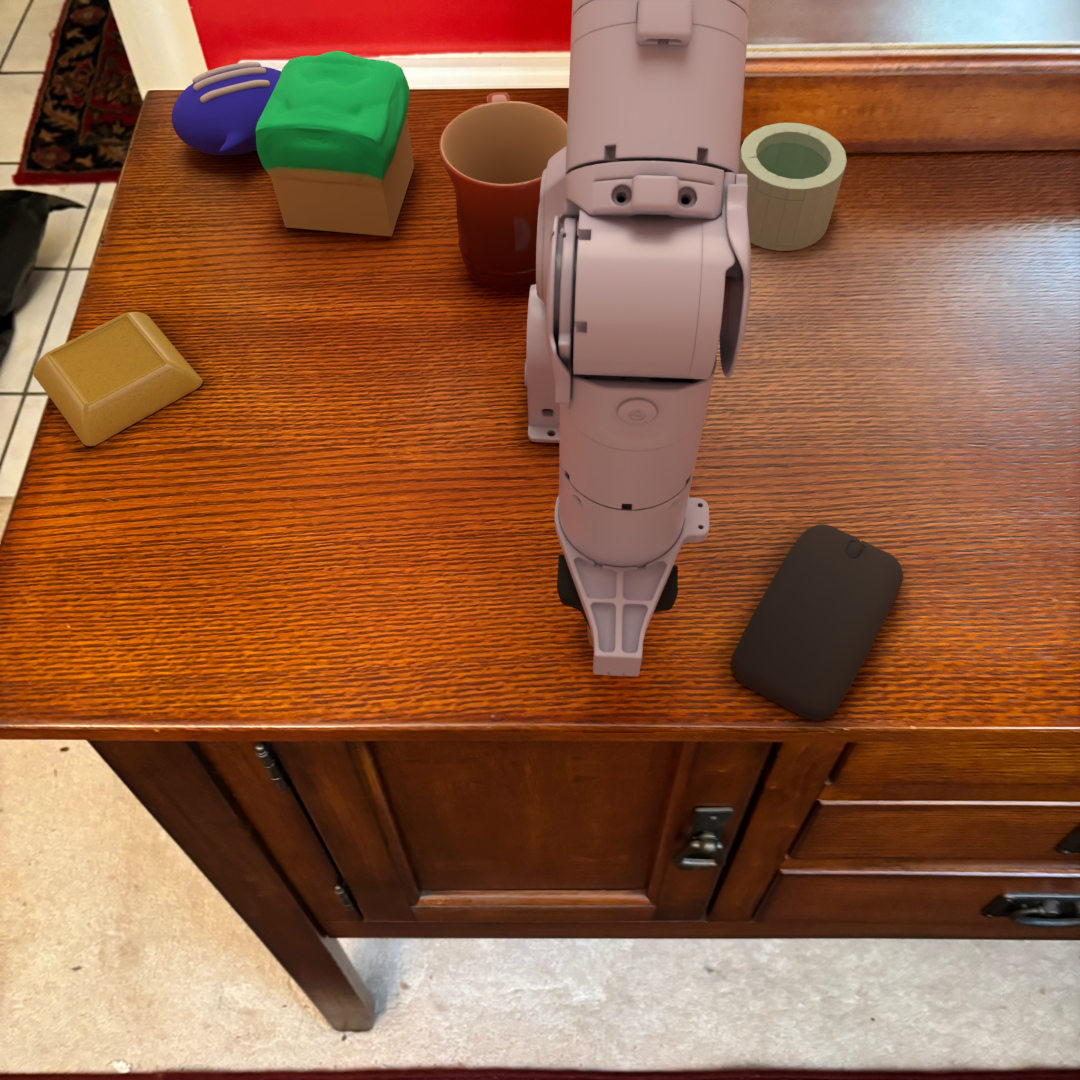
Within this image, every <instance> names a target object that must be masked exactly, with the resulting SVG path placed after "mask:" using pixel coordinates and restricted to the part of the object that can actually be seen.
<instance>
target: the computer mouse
mask: <svg viewBox="0 0 1080 1080" xmlns="http://www.w3.org/2000/svg"><path fill="white" fill-rule="evenodd" d="M903 580H904V572H903V568H902V565H901V563H900V562H899V560H898V559H897V558H896V557H895V556H894V555H893V554H891V553H889V552H887V551H885V550H884V549H880V548H879V547H877V546H874V545H873V544H871V543H868V542H867V541H864V540H860V538H858V537H856V536H854V535H851V534H849V533H847V532H845V531H843V530H841V529H839V528H837V527H835V526H832V525H828V524H817V525H813V526H811V527H808V528H807V529H806V530H805V531H803V532H802V533H801V534H800V535H799V537H798V538H797V539H796V541H795V542H794V543H793V545H792V546H791V548H790V550H789V551H788V553H786V556H785V557H784V558H783V560H782V562H781V563H780V566H779V567H778V569H777V570H776V572H775V574H774V575H773V577H772V579H771V581H770V582H769V584H768V586H767V588H766V589H765V591H764V593H763V595H762V597H761V598H760V601H759V602H758V604H757V606H756V608H755V610H754V612H753V613H752V616H751V617H750V619H749V620H748V623H747V625H746V627H745V629H744V631H743V632H742V635H741V636H740V638H739V640H738V642H737V644H736V646H735V647H734V650H733V653H732V656H731V660H730V668H731V671H732V673H733V675H734V677H735V678H736V680H737V681H738V682H739V683H740V684H741V685H743V686H744V687H747V688H748V689H751V690H752V691H753V692H756V693H757V694H759V695H761V696H763V697H765V698H767V699H769V700H770V701H772V702H774V703H776V704H777V705H779V706H781V707H783V708H785V709H786V710H788V711H790V712H792V713H794V714H796V715H798V716H799V717H802V718H803V719H806V720H809V721H813V722H814V721H815V722H816V721H825V720H827V719H830V718H831V717H833V716H834V715H835V714H836V712H837V711H838V710H839V709H840V707H841V705H842V703H843V701H844V699H845V698H846V696H847V694H848V692H849V691H850V688H851V687H852V685H853V683H854V681H855V679H856V678H857V675H858V674H859V672H860V670H861V668H862V666H863V664H864V662H865V661H866V659H867V656H868V655H869V652H871V650H872V647H873V645H874V644H875V641H876V640H877V638H878V635H879V634H880V632H881V630H882V628H883V626H884V624H885V622H886V620H887V618H888V616H889V614H890V611H891V610H892V608H893V606H894V603H895V602H896V600H897V597H898V595H899V592H900V590H901V588H902V585H903Z"/></svg>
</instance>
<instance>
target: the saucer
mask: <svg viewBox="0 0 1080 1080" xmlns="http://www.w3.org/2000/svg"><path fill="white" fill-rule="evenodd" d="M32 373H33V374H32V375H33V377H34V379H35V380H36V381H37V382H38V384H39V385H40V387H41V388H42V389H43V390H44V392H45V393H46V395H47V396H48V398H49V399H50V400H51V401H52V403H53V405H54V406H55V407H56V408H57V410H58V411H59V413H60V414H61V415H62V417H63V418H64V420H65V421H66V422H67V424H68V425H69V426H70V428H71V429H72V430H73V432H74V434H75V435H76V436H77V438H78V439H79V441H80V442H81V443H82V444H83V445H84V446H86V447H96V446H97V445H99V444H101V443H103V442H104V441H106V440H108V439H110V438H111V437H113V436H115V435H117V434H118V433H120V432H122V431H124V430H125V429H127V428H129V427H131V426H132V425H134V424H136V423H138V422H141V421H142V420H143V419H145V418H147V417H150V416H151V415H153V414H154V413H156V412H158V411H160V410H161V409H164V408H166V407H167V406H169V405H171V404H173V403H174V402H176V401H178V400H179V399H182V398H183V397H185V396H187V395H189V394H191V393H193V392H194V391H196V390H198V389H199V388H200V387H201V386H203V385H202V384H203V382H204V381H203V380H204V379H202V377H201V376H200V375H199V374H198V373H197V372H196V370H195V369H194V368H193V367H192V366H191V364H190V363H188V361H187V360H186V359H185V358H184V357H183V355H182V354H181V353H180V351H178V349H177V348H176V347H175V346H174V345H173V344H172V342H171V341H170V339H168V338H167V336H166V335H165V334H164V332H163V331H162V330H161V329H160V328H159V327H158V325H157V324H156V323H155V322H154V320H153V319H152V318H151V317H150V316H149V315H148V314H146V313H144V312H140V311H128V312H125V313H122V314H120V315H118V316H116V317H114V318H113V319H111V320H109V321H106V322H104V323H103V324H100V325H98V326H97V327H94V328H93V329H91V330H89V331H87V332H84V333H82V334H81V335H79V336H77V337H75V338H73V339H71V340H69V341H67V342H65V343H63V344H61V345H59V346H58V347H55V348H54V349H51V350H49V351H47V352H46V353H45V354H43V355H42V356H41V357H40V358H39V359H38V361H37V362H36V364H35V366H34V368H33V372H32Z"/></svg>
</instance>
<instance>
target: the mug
mask: <svg viewBox="0 0 1080 1080" xmlns="http://www.w3.org/2000/svg"><path fill="white" fill-rule="evenodd" d="M567 123H568V122H567V121H566V120H565V119H564V118H563V117H561V116H560V115H559V114H557V113H555V112H554V111H552V110H550V109H549V108H546V107H544V106H541V105H538V104H535V103H532V102H528V101H522V100H521V101H520V100H511V97H510V94H509V93H507V92H504V91H496V92H491V93H489V94H488V95H487V96H486V103H482V104H481V103H480V104H477V105H475V106H472V107H470V108H468V109H466V110H464V111H463V112H461V113H459V114H458V115H456V116H455V117H454V118H452V120H450V122H448V124H447V125H446V126H445V127H444V128H443V131H442V132H441V135H440V137H439V141H438V152H439V157H440V159H441V161H442V163H443V165H444V167H445V170H446V171H447V173H448V176H449V178H450V181H451V182H452V186H453V189H454V193H455V203H456V222H457V232H458V248H459V250H460V255H461V258H462V261H463V264H464V266H465V269H466V271H467V273H468V274H469V276H470V277H471V278H472V280H474V281H475V282H477V283H478V284H479V285H480V286H482V287H484V288H486V289H489V290H492V291H496V292H500V293H507V294H508V293H511V294H512V293H514V294H515V293H523V292H528V291H530V287H531V285H534V284H536V243H537V222H538V210H539V203H540V188H541V179H542V173H543V171H544V170H545V169H546V168H547V164H548V161H549V159H550V158H551V157H552V156H553V155H555V154H556V153H557V152H559V151H560V150H561V149H563V148H564V147H566V146H567Z"/></svg>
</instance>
